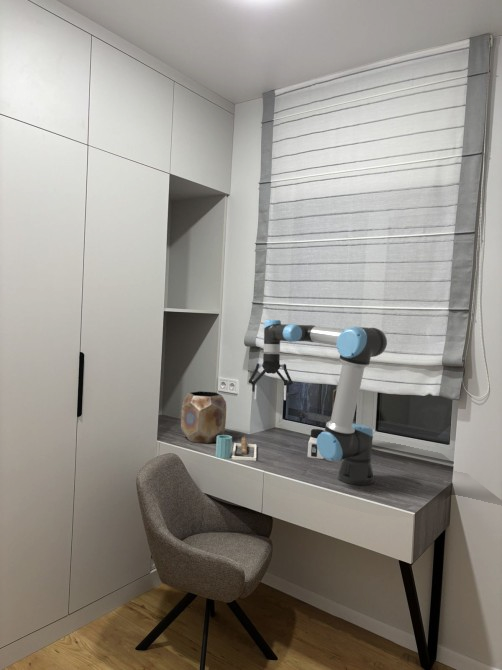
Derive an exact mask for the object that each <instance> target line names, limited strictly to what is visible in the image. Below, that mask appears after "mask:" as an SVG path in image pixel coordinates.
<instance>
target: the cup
mask: <svg viewBox="0 0 502 670" xmlns="http://www.w3.org/2000/svg"><path fill="white" fill-rule="evenodd" d="M215 442H216V444H215V457H216V458H219V459H230V458H232V450H233V447H232V445H233V436H231V435H228V434H224V435H218V436H217V440H216V441H215Z"/></svg>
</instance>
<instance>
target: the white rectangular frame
mask: <svg viewBox="0 0 502 670" xmlns="http://www.w3.org/2000/svg"><path fill="white" fill-rule="evenodd" d="M237 447H241V442H240V443H236V442H234V443H233V447H232V452H231V460H239V461H255V462H256V461H257V444H256V443H255V444H254V443H247V448H253V449H254V450H253V451H254V452H253V457H251V456H237V455H235V454H236V449H237Z"/></svg>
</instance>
